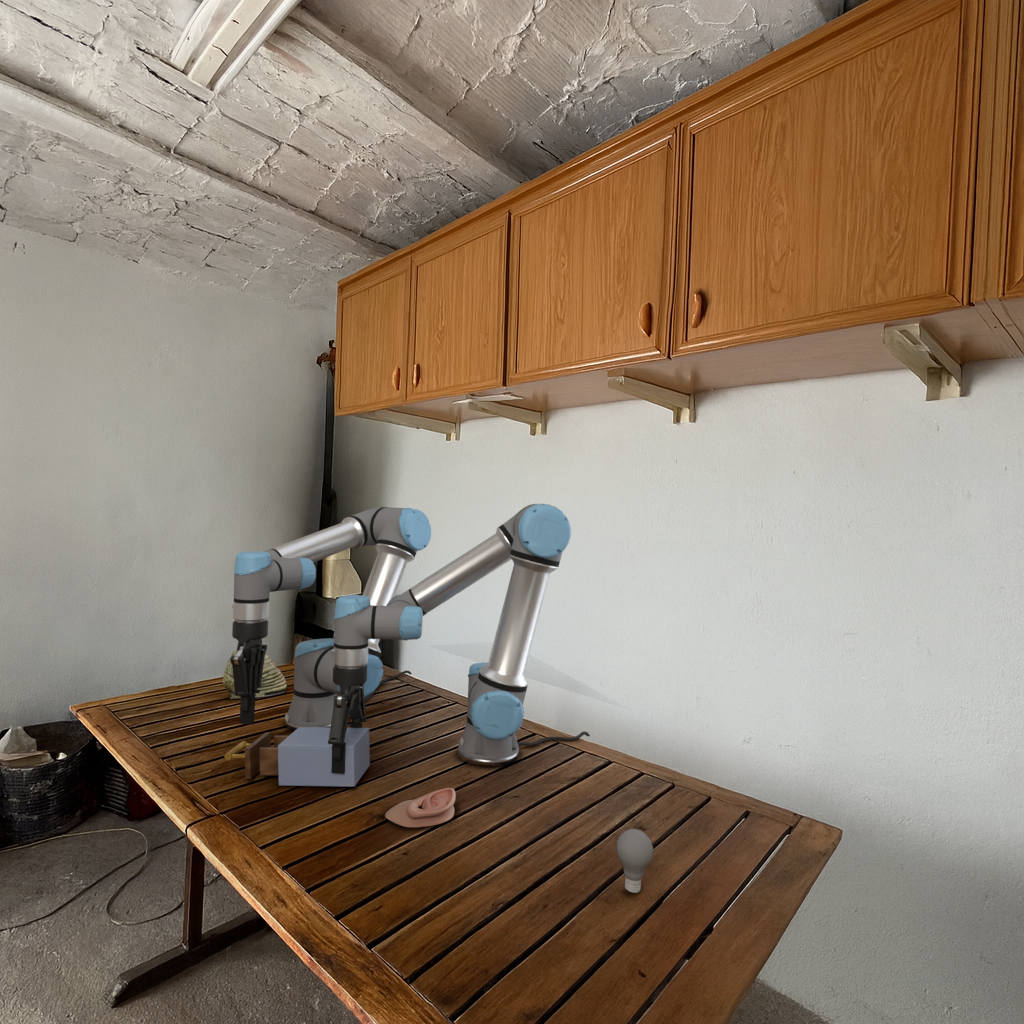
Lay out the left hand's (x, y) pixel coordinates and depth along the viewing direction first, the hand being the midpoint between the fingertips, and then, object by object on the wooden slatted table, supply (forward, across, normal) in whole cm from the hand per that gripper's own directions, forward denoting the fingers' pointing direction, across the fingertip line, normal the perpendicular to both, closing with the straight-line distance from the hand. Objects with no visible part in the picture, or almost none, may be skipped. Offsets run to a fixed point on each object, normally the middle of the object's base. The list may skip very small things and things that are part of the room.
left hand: (246, 722), depth 144 cm
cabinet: (+11, 0, +19) cm, 22 cm away
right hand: (+7, 0, +24) cm, 25 cm away
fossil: (+11, -52, -24) cm, 58 cm away
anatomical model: (+11, +13, +44) cm, 47 cm away
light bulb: (+11, +33, +84) cm, 91 cm away
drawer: (+10, 0, +8) cm, 13 cm away
